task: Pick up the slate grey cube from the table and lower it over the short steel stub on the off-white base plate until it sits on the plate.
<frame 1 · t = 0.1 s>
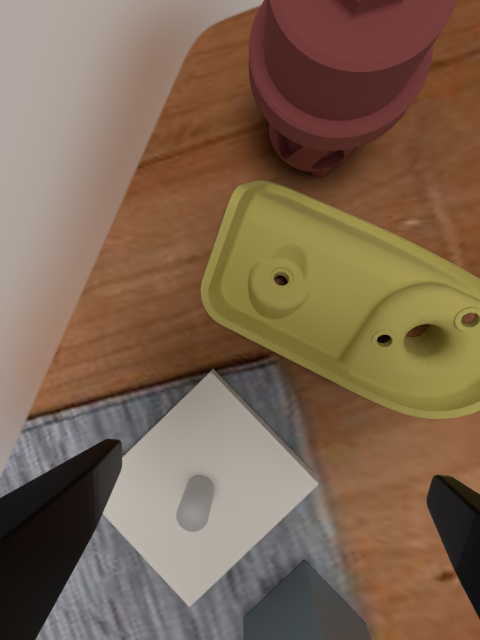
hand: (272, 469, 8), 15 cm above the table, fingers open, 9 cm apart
mechanical component: (308, 141, 24), on the table
slate grey cube: (304, 620, 23), on the table
plastic component: (333, 302, 24), on the table
base plate: (203, 478, 24), on the table
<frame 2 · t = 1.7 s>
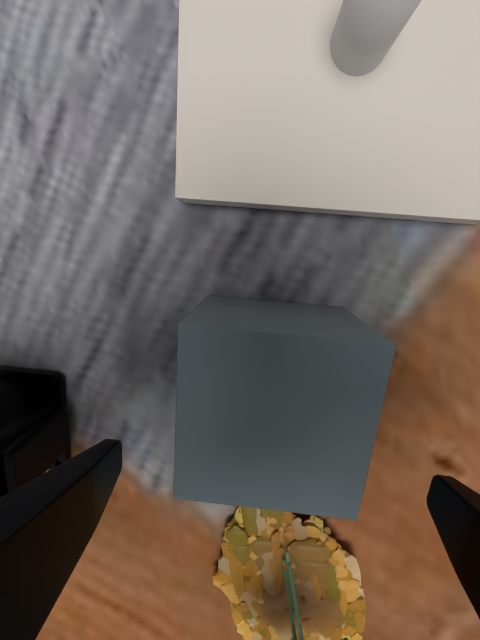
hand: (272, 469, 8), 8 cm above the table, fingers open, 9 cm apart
slate grey cube: (268, 363, 16), on the table
base plate: (347, 66, 12), on the table
green and yellow piece: (287, 575, 20), on the table
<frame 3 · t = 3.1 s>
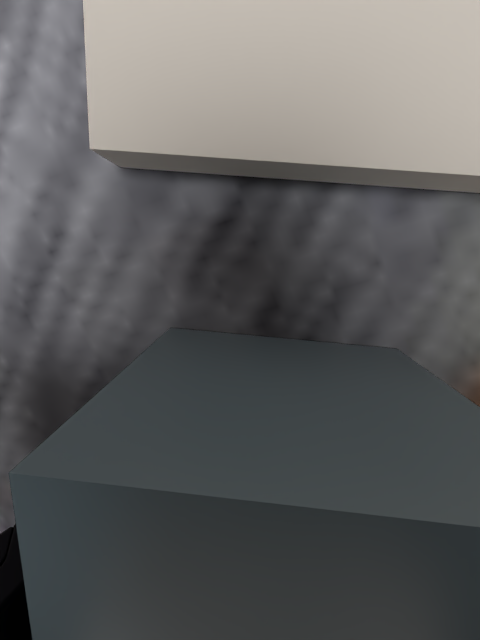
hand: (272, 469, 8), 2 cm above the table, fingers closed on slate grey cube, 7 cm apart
slate grey cube: (270, 436, 10), on the table, touching gripper
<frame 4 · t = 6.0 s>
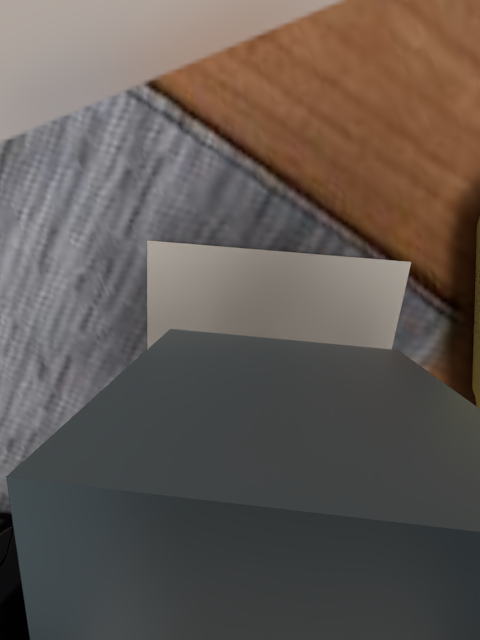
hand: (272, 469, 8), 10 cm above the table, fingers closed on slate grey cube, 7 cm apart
slate grey cube: (270, 437, 10), point 9 cm above the table, touching gripper
base plate: (264, 348, 18), on the table
when the fingers open (4 cm above the table, at t = 8.0 s): slate grey cube drops 1 cm, resting on base plate.
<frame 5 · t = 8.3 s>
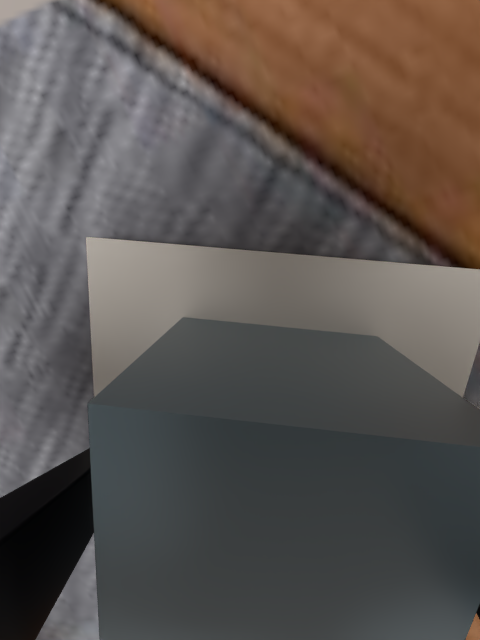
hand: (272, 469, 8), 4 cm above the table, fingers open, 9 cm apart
slate grey cube: (268, 412, 11), point 1 cm above the table, touching base plate
base plate: (267, 392, 13), on the table
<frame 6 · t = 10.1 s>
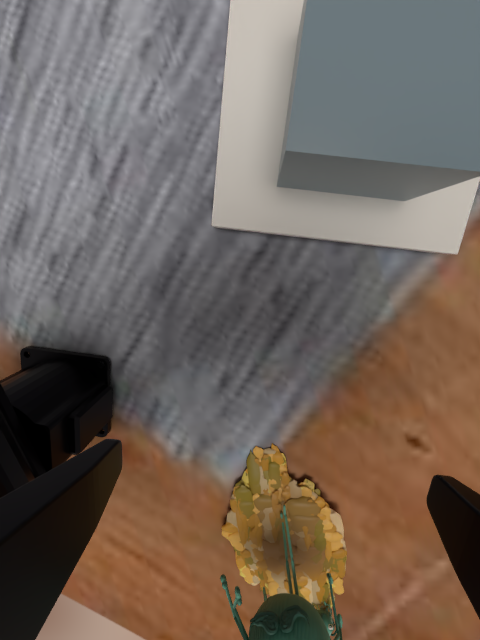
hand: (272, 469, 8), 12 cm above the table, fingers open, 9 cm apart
slate grey cube: (353, 121, 15), point 1 cm above the table, touching base plate
base plate: (346, 131, 16), on the table
green and yellow piece: (282, 531, 24), on the table
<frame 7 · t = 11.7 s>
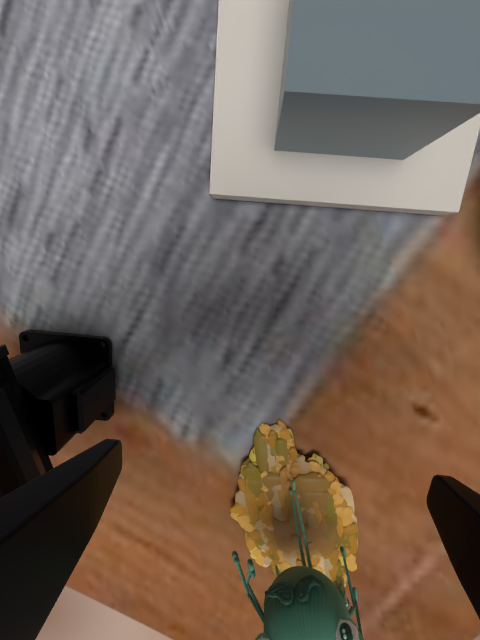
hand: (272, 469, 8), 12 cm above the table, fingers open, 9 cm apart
slate grey cube: (349, 80, 15), point 1 cm above the table, touching base plate
base plate: (341, 94, 16), on the table
green and yellow piece: (292, 511, 24), on the table
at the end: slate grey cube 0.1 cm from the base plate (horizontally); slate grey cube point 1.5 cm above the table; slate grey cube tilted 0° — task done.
